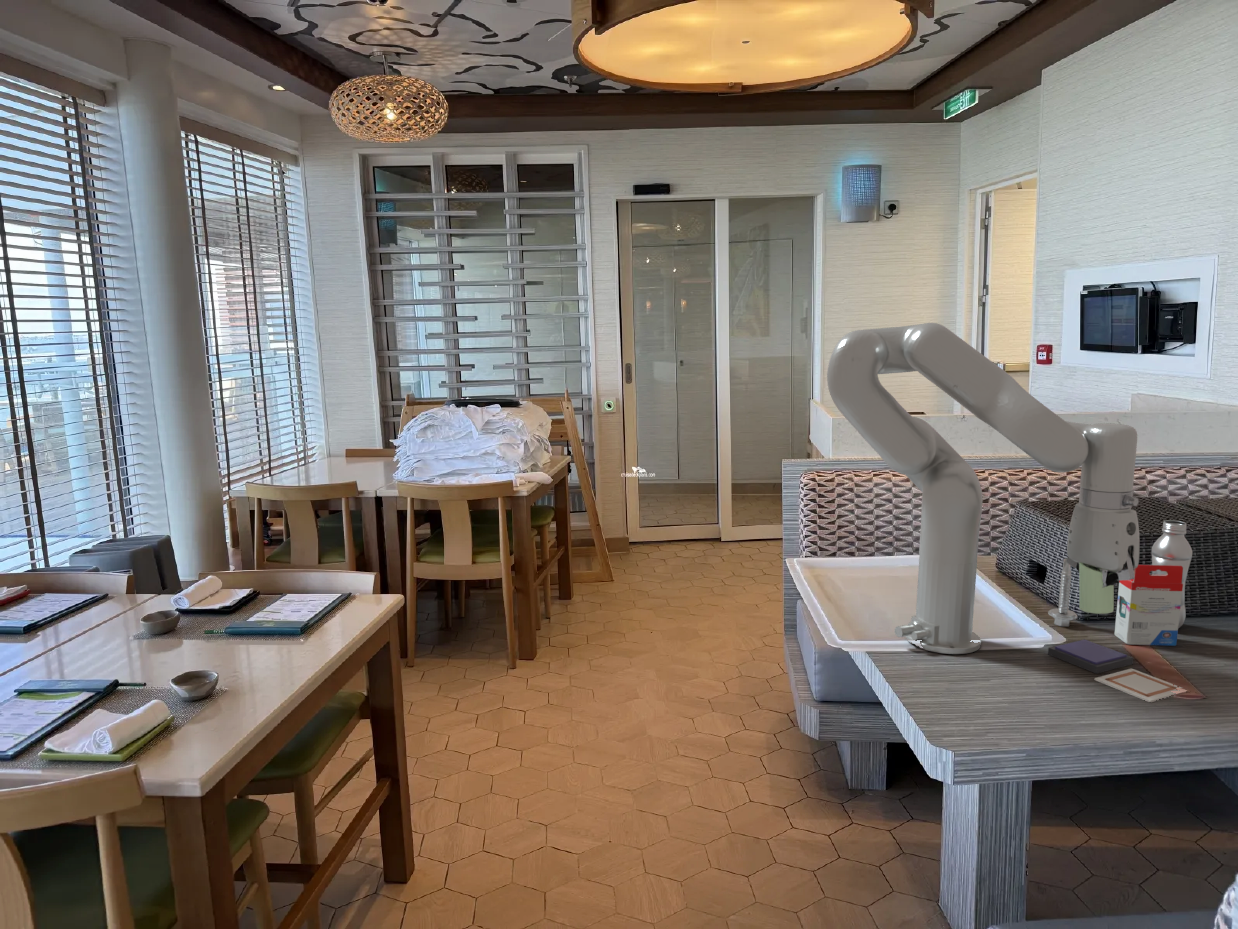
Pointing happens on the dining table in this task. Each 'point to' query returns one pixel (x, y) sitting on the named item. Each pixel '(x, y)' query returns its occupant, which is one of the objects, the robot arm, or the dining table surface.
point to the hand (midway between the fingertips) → (1096, 606)
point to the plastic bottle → (1173, 554)
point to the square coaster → (1139, 684)
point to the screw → (1063, 599)
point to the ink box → (1150, 606)
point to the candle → (1094, 591)
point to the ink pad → (1090, 656)
